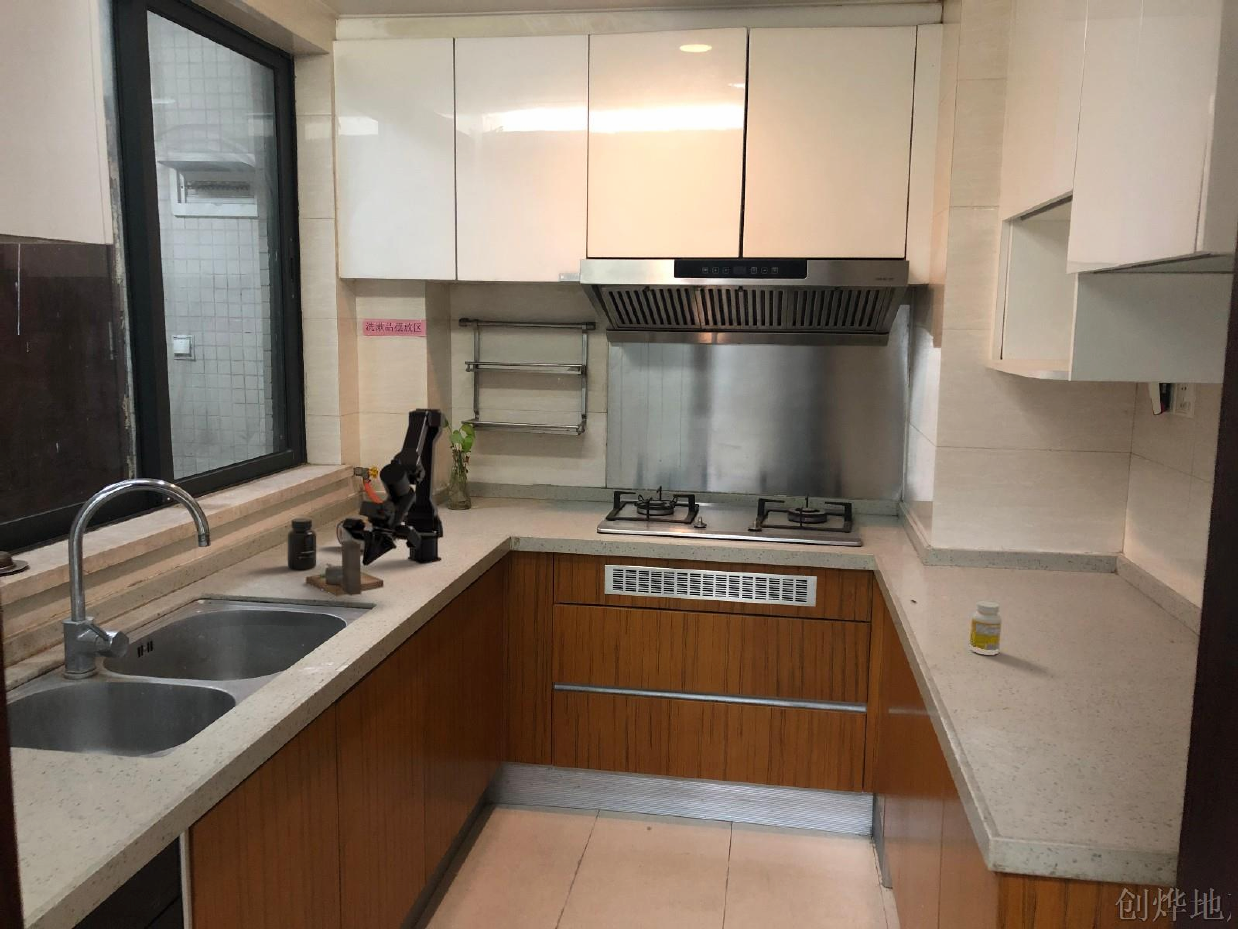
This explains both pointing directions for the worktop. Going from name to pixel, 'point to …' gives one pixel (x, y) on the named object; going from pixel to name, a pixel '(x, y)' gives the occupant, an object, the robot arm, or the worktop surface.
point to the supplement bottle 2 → (986, 626)
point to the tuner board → (337, 589)
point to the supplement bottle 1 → (301, 545)
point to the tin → (344, 536)
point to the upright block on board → (346, 569)
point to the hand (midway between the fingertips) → (364, 564)
